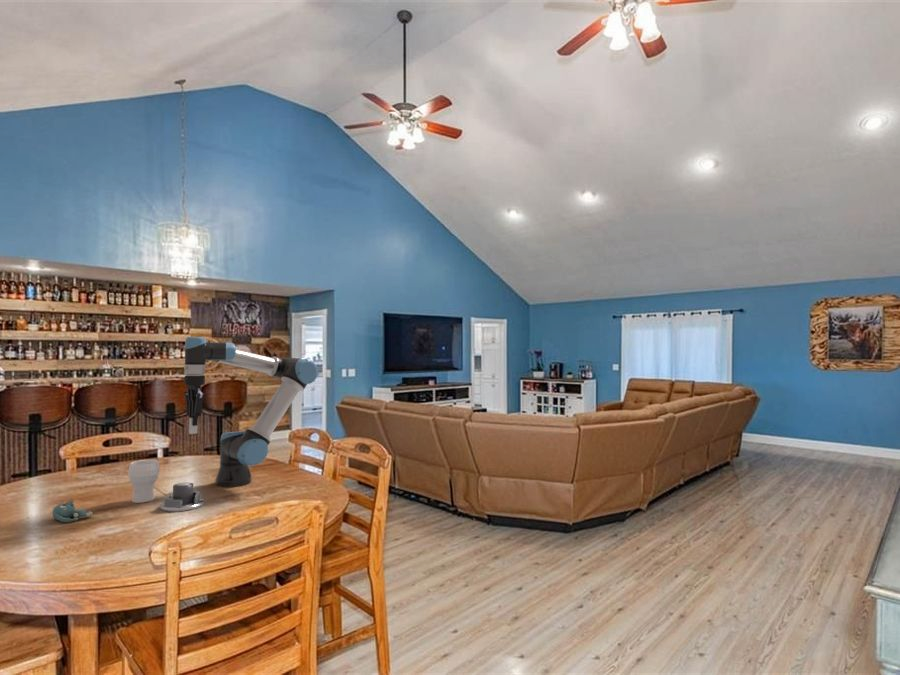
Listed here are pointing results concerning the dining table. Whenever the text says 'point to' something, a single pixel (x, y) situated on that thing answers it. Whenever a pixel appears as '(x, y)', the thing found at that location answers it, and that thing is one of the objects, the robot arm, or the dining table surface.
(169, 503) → the grey stand base
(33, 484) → the dining table surface
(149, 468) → the cup
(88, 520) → the dining table surface
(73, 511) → the stuffed animal
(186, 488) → the gray cube
